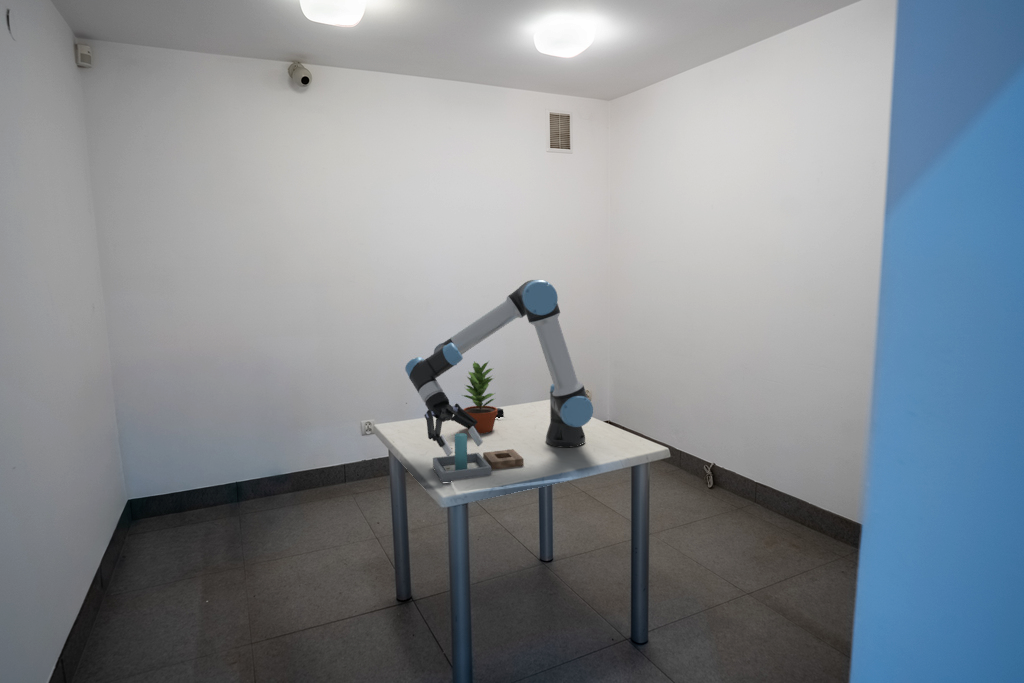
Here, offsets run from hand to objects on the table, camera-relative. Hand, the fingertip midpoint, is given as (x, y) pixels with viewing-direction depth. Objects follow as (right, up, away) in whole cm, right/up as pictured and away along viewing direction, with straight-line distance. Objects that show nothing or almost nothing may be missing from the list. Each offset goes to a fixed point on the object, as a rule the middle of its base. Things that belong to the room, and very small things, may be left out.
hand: (465, 449), depth 184 cm
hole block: (+12, -7, +9) cm, 17 cm away
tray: (-2, -8, +2) cm, 9 cm away
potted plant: (+2, -3, +54) cm, 54 cm away
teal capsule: (-2, -7, +2) cm, 8 cm away
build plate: (+9, -1, +75) cm, 75 cm away
